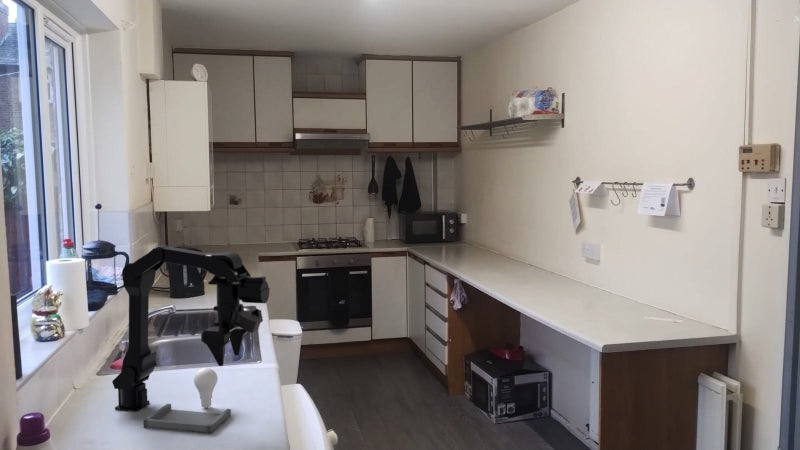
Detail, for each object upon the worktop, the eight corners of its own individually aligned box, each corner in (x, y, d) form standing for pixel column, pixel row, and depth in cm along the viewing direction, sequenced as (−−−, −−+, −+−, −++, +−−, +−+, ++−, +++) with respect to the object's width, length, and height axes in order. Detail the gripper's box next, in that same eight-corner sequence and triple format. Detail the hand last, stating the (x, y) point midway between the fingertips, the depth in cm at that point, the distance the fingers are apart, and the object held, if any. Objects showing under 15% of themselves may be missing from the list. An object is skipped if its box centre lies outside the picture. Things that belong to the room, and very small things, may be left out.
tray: (143, 427, 155) (143, 420, 155) (167, 410, 166) (167, 403, 165) (210, 433, 152) (210, 426, 151) (230, 416, 162) (230, 408, 162)
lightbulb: (220, 403, 171) (219, 364, 170) (214, 412, 165) (214, 371, 164) (198, 403, 171) (197, 364, 170) (191, 412, 165) (190, 372, 164)
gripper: (241, 311, 150) (242, 374, 152) (271, 295, 169) (271, 352, 170) (199, 308, 152) (200, 370, 154) (233, 293, 171) (233, 349, 172)
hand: (229, 360), depth 162 cm, fingers open, 9 cm apart
